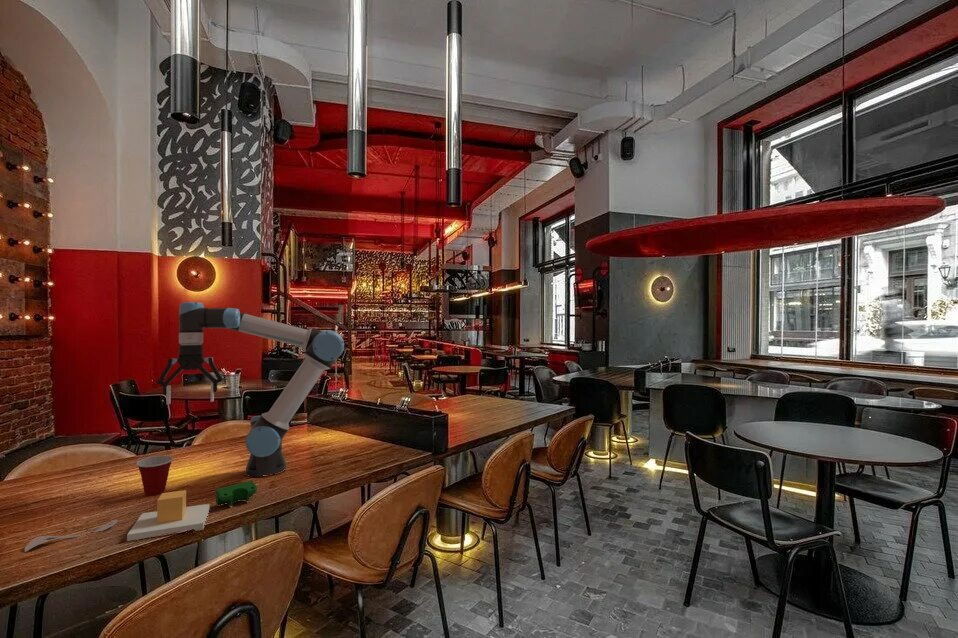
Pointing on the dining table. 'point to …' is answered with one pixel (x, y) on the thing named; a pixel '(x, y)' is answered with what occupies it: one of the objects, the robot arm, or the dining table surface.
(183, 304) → the robot arm
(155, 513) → the base plate
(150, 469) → the plastic cup
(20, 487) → the dining table surface
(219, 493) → the clamp
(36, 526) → the dining table surface
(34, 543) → the metal spoon
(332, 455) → the dining table surface
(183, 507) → the tan wooden block
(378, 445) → the dining table surface
